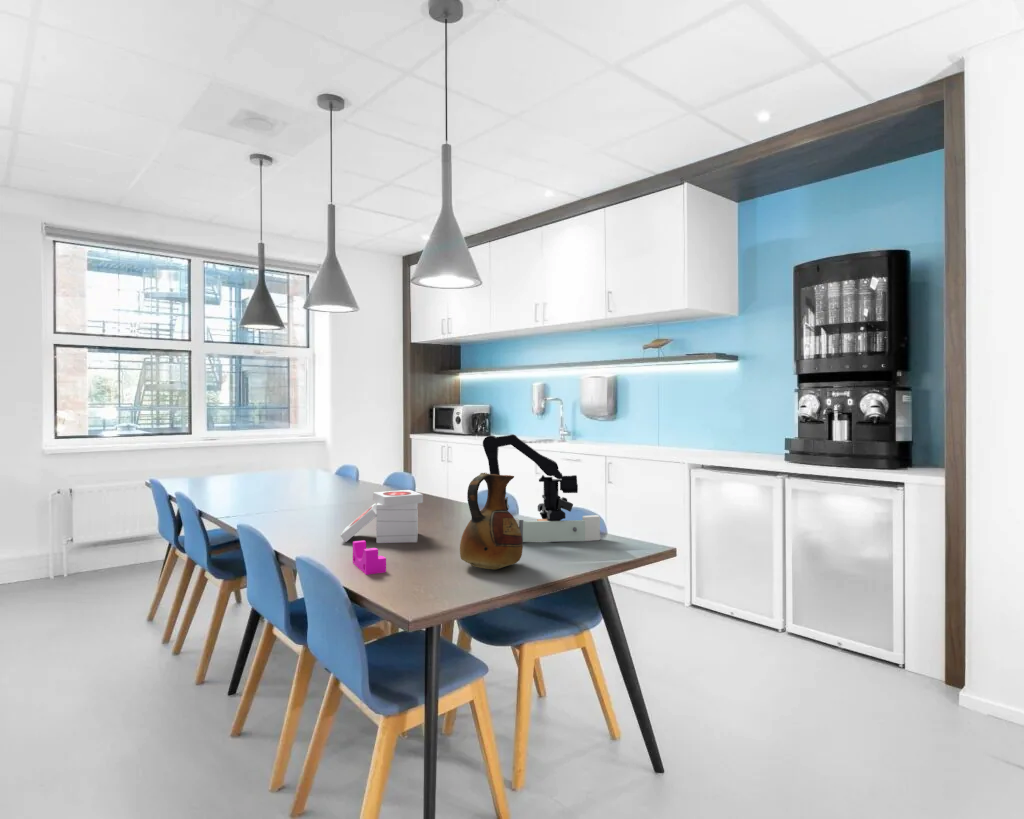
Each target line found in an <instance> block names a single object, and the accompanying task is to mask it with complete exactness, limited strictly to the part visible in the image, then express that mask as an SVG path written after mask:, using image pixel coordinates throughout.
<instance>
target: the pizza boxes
mask: <svg viewBox="0 0 1024 819" xmlns="http://www.w3.org/2000/svg"><path fill="white" fill-rule="evenodd" d="M372 501H373V502H374V504H371V506H370V507H369V508H367V509H366V510H365V511H364V512H363V513H361V514H360V515H359V516H357V518H355V519H354V520H353V521H352V522H351V523H349V524H348V525H347V526H346V527H345V528H344V529H343V531H342V532H341V534H340V538H341V539H343V542H345V543H346V542H348V541H349V540H350V539H352V537H353V536H355V535H356V534H358V533H359V532H360V531H361V530H362V529H363V528H364V527H366V526H367V525H368V524H369V523H370V522H372V521H373V519H375V518H376V519H375V520H376V521H375V522H376V525H375V526H376V529H375V530H376V534H375V536H376V538H375V539H376V540H375V541H376V544H385V543H386V544H391V543H393V544H394V543H395V544H396V543H418V537H419V536H418V534H419V532H418V531H419V530H418V527H419V526H418V525H419V524H418V523H419V521H418V520H419V517H418V516H419V514H418V510H419V509H418V506H419V504H423V503H424V494H423V493H420V492H417V491H415V490H414V491H413V490H411V489H403V490H400V489H399V490H390V491H389V490H386V491H374V492H372Z"/></svg>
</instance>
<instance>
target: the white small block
mask: <svg viewBox="0 0 1024 819" xmlns="http://www.w3.org/2000/svg"><path fill="white" fill-rule="evenodd" d="M514 519H515V520H516V522H517V523H518V526H519V520H520V519H518V518H515V517H514ZM582 520H585V541H584V542H587V541H588V542H589V541H590V542H591V541H601V516H600V515H598V514H596V515H595V514H593V515H591V514H590V515H582Z"/></svg>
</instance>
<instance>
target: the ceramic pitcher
mask: <svg viewBox="0 0 1024 819" xmlns="http://www.w3.org/2000/svg"><path fill="white" fill-rule="evenodd" d="M514 478H515V475H511V474H509V475H508V474H500V475H496V474H490V473H487V472H480V473H479V475H477V476H475V477H474V478H473V479H472V480H471V481H470V483H469V484H468V487H467V496H466V497H467V503H468V507H469V511H470V515H471V519H470V520H469V521H468V523H467V525H466V526H465V528H464V530H463V533H462V536H461V539H460V543H459V556H460V559H461V560H462V561H464V562H465V563H467V564H469V565H470V566H472V567H475V568H480V569H484V570H485V569H486V570H494V571H496V570H500V569H502V568H504V567H509V566H511V565H514V564H517V563H518V562H519V561H520V560H521V559H522V556H523V548H524V544H523V543H524V542H522V535H521V531H520V528H519V526H518V523H517V522H516V520H515V519H514V518H515V517H514V516H513V514H512V513H511V512H509V510H508V511H507V509H506V504H505V498H506V497H507V496H506V495H507V485H508V484H509V483H510V482H511V480H513V479H514ZM483 481H484V482H485V483H486V487H487V497H486V502H485V504H484V507H483V508H482V509H481V510H480V507H479V501H478V492H479V488H480V485H481V483H482V482H483Z"/></svg>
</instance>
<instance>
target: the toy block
mask: <svg viewBox="0 0 1024 819" xmlns="http://www.w3.org/2000/svg"><path fill="white" fill-rule="evenodd" d="M352 564H353V565H354V566H355V567H357V568H358V569H359V570H360V571H361V572H362V573H363V574H365V575H366V576H368V575H375V574H383V573H386V572H387V557H385V556H384V555H379V549H378V548H376V547H371V548H367V542H366V540H364V539H363V540H354V541H352Z"/></svg>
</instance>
